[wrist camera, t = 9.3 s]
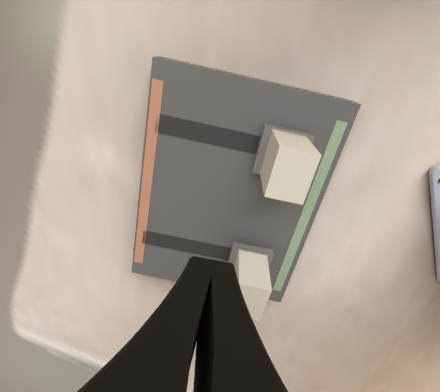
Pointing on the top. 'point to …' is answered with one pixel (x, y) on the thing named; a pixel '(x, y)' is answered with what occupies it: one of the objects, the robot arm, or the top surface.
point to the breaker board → (225, 168)
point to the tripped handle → (253, 275)
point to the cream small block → (286, 163)
